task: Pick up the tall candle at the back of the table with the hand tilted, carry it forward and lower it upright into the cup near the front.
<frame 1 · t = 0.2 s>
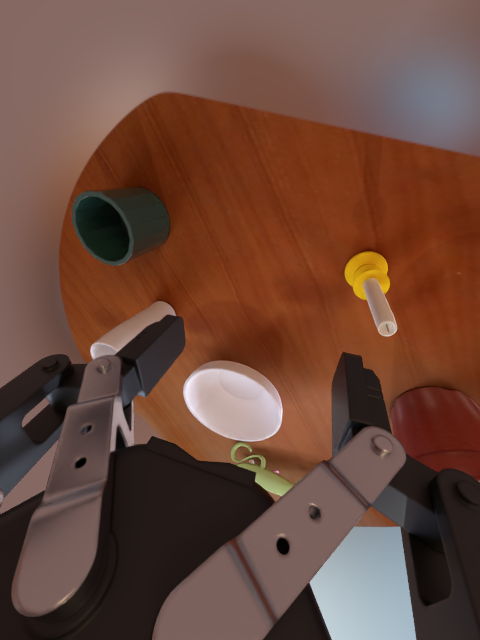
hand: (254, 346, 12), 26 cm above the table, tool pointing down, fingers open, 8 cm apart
cup: (144, 219, 39), on the table
candle: (364, 269, 33), on the table
drinking glass: (165, 311, 48), on the table
figurine: (281, 470, 65), on the table
flower pot: (431, 410, 41), on the table
bowl: (241, 380, 52), on the table
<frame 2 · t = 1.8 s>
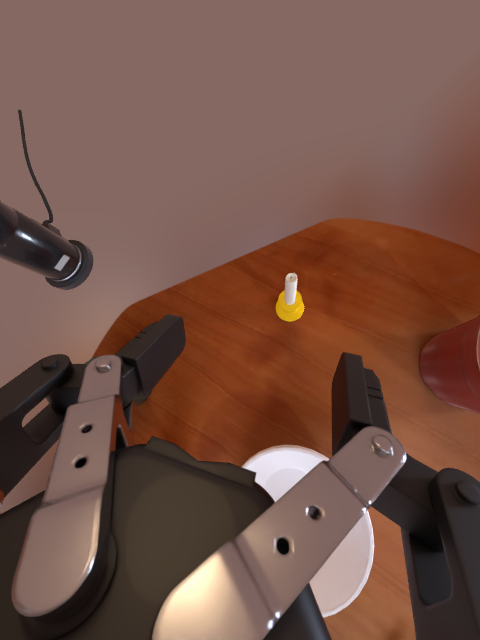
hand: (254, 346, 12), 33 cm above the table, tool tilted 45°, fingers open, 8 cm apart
candle: (289, 308, 46), on the table
flower pot: (460, 368, 39), on the table
bowl: (292, 499, 39), on the table
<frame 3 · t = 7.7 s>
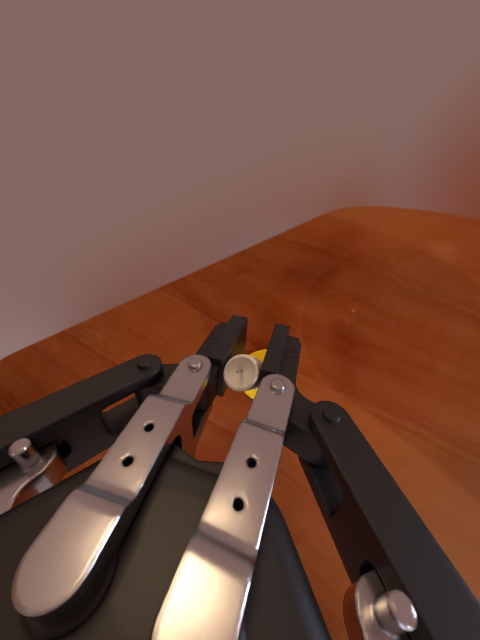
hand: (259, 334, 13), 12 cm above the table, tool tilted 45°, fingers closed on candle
candle: (268, 376, 24), on the table, touching gripper
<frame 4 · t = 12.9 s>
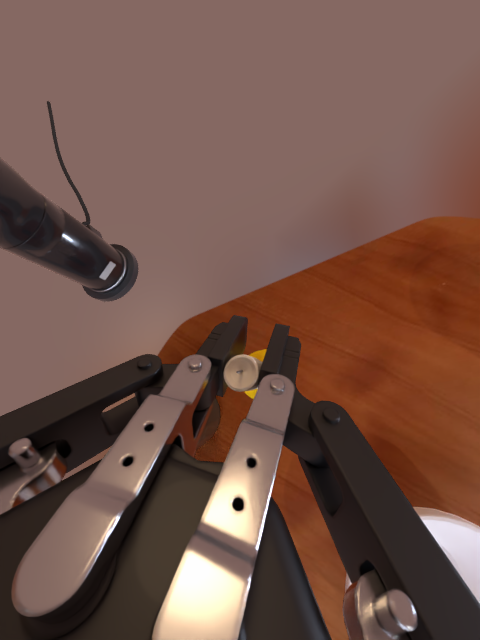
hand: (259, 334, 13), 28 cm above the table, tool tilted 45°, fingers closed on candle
cup: (193, 414, 40), on the table
candle: (268, 376, 24), point 16 cm above the table, touching gripper
bowl: (416, 573, 30), on the table
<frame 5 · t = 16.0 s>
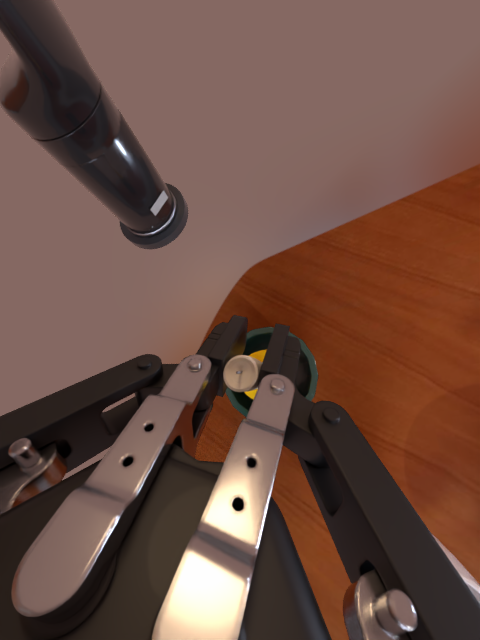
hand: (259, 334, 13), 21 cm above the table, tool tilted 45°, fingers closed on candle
cup: (273, 374, 32), on the table
candle: (268, 376, 24), point 8 cm above the table, touching gripper
drinking glass: (362, 500, 27), on the table
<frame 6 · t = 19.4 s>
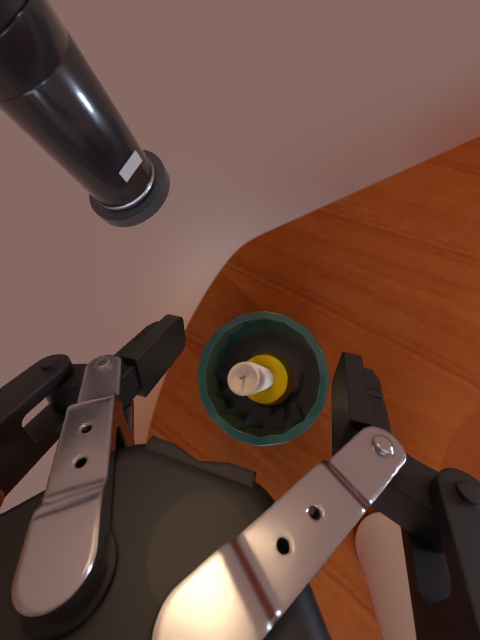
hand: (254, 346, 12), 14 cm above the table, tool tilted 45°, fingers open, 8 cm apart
cup: (269, 375, 26), on the table
candle: (268, 378, 25), point 1 cm above the table, touching cup
drinking glass: (385, 543, 21), on the table
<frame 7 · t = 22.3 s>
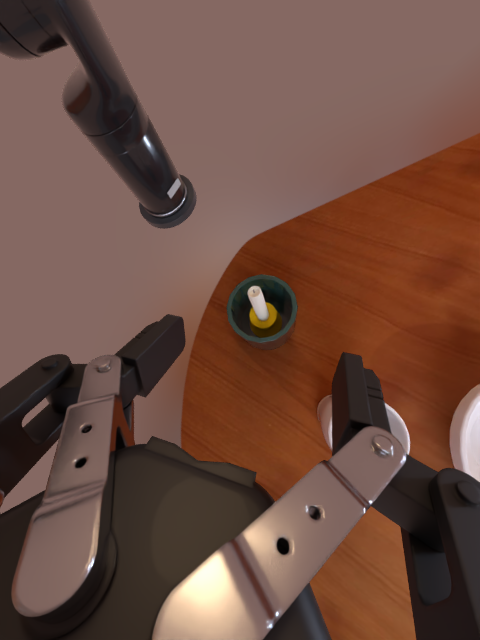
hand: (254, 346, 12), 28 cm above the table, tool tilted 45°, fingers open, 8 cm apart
cup: (266, 322, 40), on the table
candle: (266, 323, 40), point 1 cm above the table, touching cup
drinking glass: (335, 412, 36), on the table
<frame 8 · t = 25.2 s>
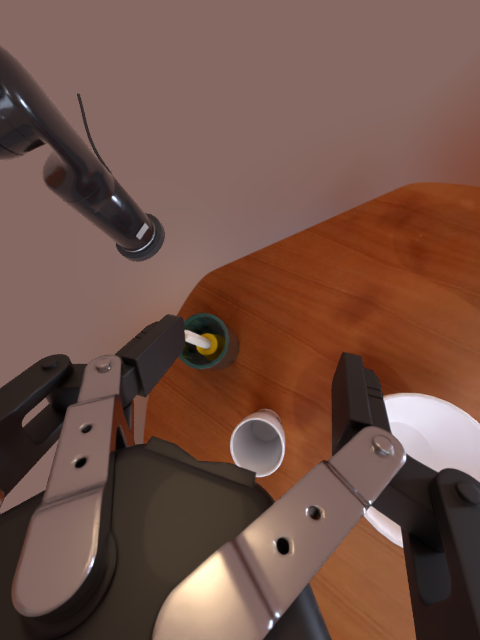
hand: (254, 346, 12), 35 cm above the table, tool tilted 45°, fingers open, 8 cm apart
cup: (216, 346, 48), on the table
candle: (215, 347, 48), point 1 cm above the table, touching cup
drinking glass: (266, 423, 44), on the table
bowl: (397, 453, 39), on the table
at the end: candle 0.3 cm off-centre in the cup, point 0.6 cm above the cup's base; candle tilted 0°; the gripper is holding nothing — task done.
